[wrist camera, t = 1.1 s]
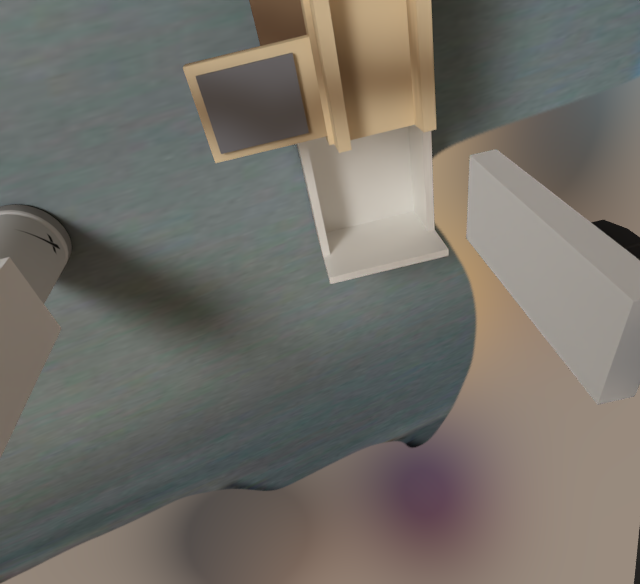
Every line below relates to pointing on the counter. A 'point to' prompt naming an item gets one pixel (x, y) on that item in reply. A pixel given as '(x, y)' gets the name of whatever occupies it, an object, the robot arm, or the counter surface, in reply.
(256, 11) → the stand
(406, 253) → the white open box
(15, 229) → the travel mug
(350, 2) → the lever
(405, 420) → the counter surface
